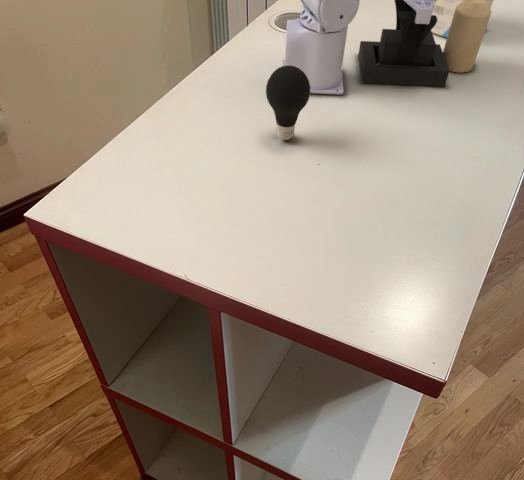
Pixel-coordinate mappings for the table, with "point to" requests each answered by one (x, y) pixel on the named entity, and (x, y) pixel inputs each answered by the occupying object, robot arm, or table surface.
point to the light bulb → (287, 97)
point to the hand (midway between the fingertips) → (404, 53)
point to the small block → (391, 49)
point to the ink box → (446, 15)
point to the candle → (466, 34)
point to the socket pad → (401, 69)
